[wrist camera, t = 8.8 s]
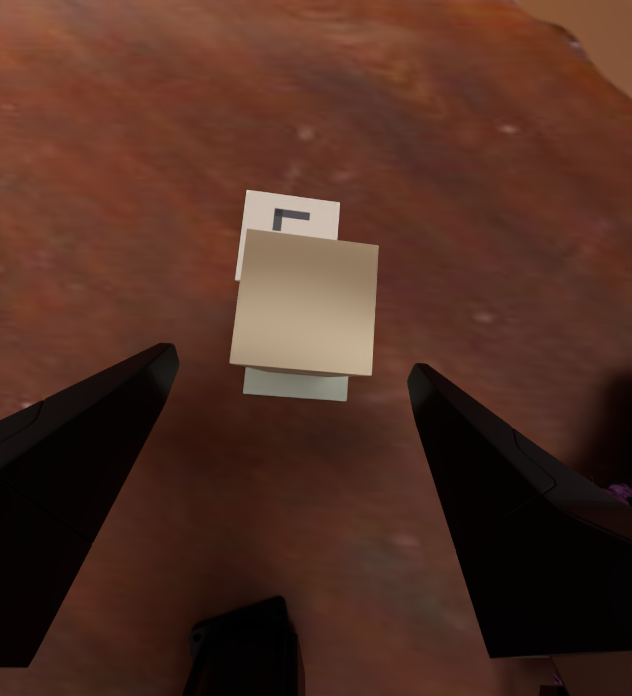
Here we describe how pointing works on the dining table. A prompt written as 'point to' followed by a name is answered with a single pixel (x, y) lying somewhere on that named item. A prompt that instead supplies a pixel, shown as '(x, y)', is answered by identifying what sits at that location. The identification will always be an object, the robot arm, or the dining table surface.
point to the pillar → (305, 306)
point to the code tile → (287, 217)
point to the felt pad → (295, 385)
